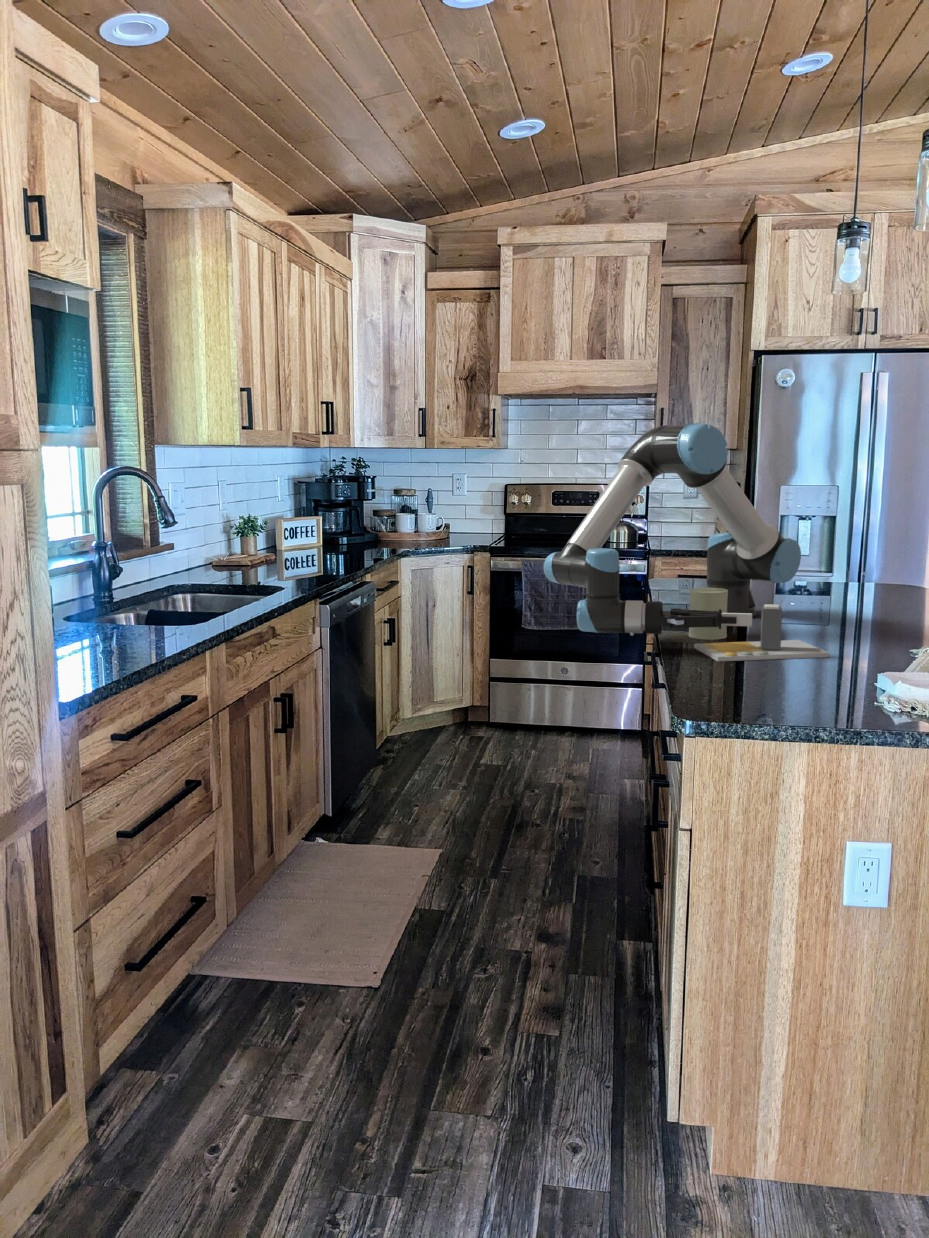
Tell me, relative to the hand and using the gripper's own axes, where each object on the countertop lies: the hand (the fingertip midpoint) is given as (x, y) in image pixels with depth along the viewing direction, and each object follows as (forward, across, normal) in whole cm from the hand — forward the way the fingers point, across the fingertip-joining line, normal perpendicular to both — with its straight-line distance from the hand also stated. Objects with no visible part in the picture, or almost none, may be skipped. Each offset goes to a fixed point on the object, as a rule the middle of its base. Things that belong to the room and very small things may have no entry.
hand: (751, 619), depth 212 cm
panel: (+2, 0, -7) cm, 8 cm away
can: (-9, -18, -8) cm, 22 cm away
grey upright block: (+4, 0, -6) cm, 7 cm away
